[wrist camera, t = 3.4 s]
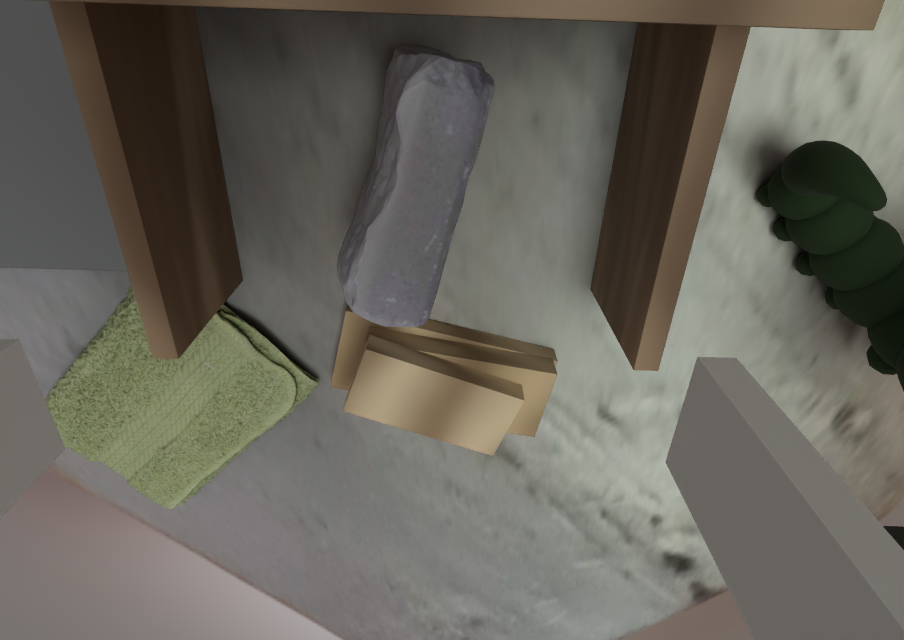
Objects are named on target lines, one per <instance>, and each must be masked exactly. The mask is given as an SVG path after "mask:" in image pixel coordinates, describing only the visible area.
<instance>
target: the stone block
mask: <svg viewBox="0 0 904 640" xmlns="http://www.w3.org/2000/svg"><path fill="white" fill-rule="evenodd" d="M493 91H494V80H493V79H492V77H491V76H490V75H489V74H488V73H486V72H485V70H484V68H483V66H482V64H481V63H479V62H475V61H471V60H462V59H456V58H454V57H452V56H451V55H449V54H447V53H445V52H442V51H440V50H437V49H433V48H430V47H427V46H419V45H407V44H402V45H400V46H398V47H396V48H394V53H393V57H392V60H391V62H390V64H389V66H388V68H387V73H386V79H385V92H384V100H383V109H382V112H381V116H380V120H379V124H378V130H377V136H376V154H375V159H374V162H373V165H372V168H371V172H370V174H369V175H368V177H367V179H366V182H365V185H364V186H363V187H362V191H361V194H360V196H359V199H358V202H357V207H356V211H355V215H354V218H353V221H352V224H351V226H350V228H349V230H348V231H347V234H346V236H345V239H344V242H343V244H342V247H341V250H340V253H339V257H338V262H337V269H338V276H339V279H340V283H341V286H342V290H343V292H344V295H345V301H346V302H347V304H348V305H349V307H350V308H351V310H352V311H353V312H354V313H355V314H357V315H359V316H361V317H363V318H364V319H366V320H369V321H371V322H373V323H376V324H379V325H382V326H386V327H418V326H422V325H423V324H424V323H425V322H426V321H427V320H428V319H429V316H430V313H431V310H432V307H433V303H434V300H435V297H436V294H437V290H438V287H439V283H440V279H441V275H442V272H443V268H444V264H445V260H446V257H447V254H448V250H449V246H450V243H451V239H452V235H453V231H454V228H455V225H456V222H457V219H458V216H459V213H460V210H461V207H462V204H463V199H464V194H465V189H466V185H467V180H468V176H469V174H470V172H471V170H472V168H473V166H474V163H475V159H476V156H477V153H478V150H479V147H480V143H481V139H482V135H483V131H484V127H485V122H486V118H487V116H488V110H489V105H490V102H491V99H492V96H493Z"/></svg>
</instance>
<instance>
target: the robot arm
mask: <svg viewBox="0 0 904 640" xmlns="http://www.w3.org/2000/svg"><path fill="white" fill-rule="evenodd" d="M64 449H65V446H64V444H63V442H62V439H61V437H60V435H59V432H58V430H57V427H56V425H55V423H54V420H53V418H52V416H51V413H50V411H49V409H48V406H47V404H46V402H45V399H44V397H43V394H42V392H41V390H40V387H39V385H38V383H37V380H36V378H35V376H34V373H33V371H32V369H31V366H30V364H29V361H28V359H27V357H26V354H25V352H24V350H23V347H22V345H21V343H20V340H19V339H0V518H1V517H2V516H3V515H4V514H5V513H6V512H7V511H8V510H9V508H11V506H12V505H13V504H14V503H15V502H16V501H17V500H18V499H19V497H21V496H22V495H23V494H24V492H25V491H26V490H27V489H28V488H29V487H30V486H31V485H32V484H33V483H34V482H35V481H36V479H37V478H38V477H39V476H40V475H41V474H42V473H43V472H44V471H45V470H46V469H47V468H48V467H49V465H50V464H51V463H52V462H53V461H54V460H55V459H56V458H57V457H58V456H59V455H60V454H61V452H62V451H63V450H64ZM666 464H667V466H668V468H669V470H670V472H671V474H672V476H673V478H674V480H675V482H676V484H677V486H678V488H679V490H680V492H681V494H682V496H683V498H684V500H685V502H686V504H687V506H688V508H689V510H690V512H691V514H692V516H693V518H694V520H695V522H696V524H697V526H698V528H699V530H700V532H701V534H702V536H703V538H704V540H705V542H706V544H707V546H708V548H709V550H710V552H711V554H712V556H713V558H714V560H715V562H716V564H717V566H718V569H719V571H720V573H721V575H722V577H723V579H724V581H725V583H726V585H727V587H728V589H729V591H730V593H731V595H732V597H733V599H734V601H735V603H736V605H737V607H738V609H739V611H740V613H741V615H742V617H743V619H744V621H745V623H746V625H747V627H748V629H749V631H750V633H751V635H752V637H753V639H754V640H904V527H897V526H882V525H881V524H880V523H879V521H878V520H877V519H876V518H875V517H874V516H873V514H872V513H871V512H870V511H869V510H868V509H867V508H866V506H865V505H864V504H863V503H862V502H861V501H860V500H859V498H858V497H857V496H856V495H855V494H854V493H853V492H852V490H851V489H850V488H849V487H848V486H847V485H846V483H845V482H844V481H843V480H842V479H841V478H840V477H839V475H838V474H837V473H836V472H835V471H834V470H833V469H832V467H831V466H830V465H829V464H828V463H827V462H826V461H825V459H824V458H823V457H822V456H821V455H820V454H819V452H818V451H817V450H816V449H815V448H814V447H813V446H812V444H811V443H810V442H809V441H808V440H807V439H806V438H805V436H804V435H803V434H802V433H801V432H800V431H799V430H798V428H797V427H796V426H795V425H794V424H793V423H792V421H791V420H790V419H789V418H788V417H787V416H786V415H785V413H784V412H783V411H782V410H781V409H780V408H779V407H778V405H777V404H776V403H775V402H774V401H773V400H772V399H771V397H770V396H769V395H768V394H767V393H766V392H765V390H764V389H763V388H762V387H761V386H760V385H759V384H758V382H757V381H756V380H755V379H754V378H753V377H752V376H751V374H750V373H749V372H748V371H747V370H746V369H745V368H744V366H743V365H742V364H741V363H740V362H739V361H738V360H737V358H715V357H697V360H696V364H695V367H694V370H693V374H692V377H691V380H690V383H689V387H688V390H687V393H686V397H685V400H684V403H683V407H682V410H681V413H680V416H679V420H678V423H677V426H676V430H675V433H674V436H673V439H672V443H671V446H670V449H669V453H668V456H667V459H666Z"/></svg>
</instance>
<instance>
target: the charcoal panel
mask: <svg viewBox="0 0 904 640" xmlns="http://www.w3.org/2000/svg"><path fill="white" fill-rule="evenodd" d="M0 267H5V268H42V269H79V270H116V271H127V268H126V264H125V261H124V257H123V254H122V250H121V247H120V244H119V240H118V237H117V233H116V230H115V227H114V223H113V220H112V216H111V213H110V209H109V206H108V203H107V199H106V196H105V192H104V189H103V186H102V182H101V179H100V175H99V172H98V169H97V165H96V162H95V158H94V155H93V151H92V148H91V145H90V141H89V138H88V134H87V131H86V128H85V124H84V121H83V117H82V114H81V110H80V107H79V104H78V100H77V97H76V93H75V90H74V87H73V83H72V80H71V76H70V73H69V70H68V66H67V63H66V59H65V56H64V52H63V49H62V46H61V42H60V39H59V35H58V32H57V29H56V25H55V22H54V18H53V15H52V12H51V8H50V5H49V1H32V0H0Z"/></svg>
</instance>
